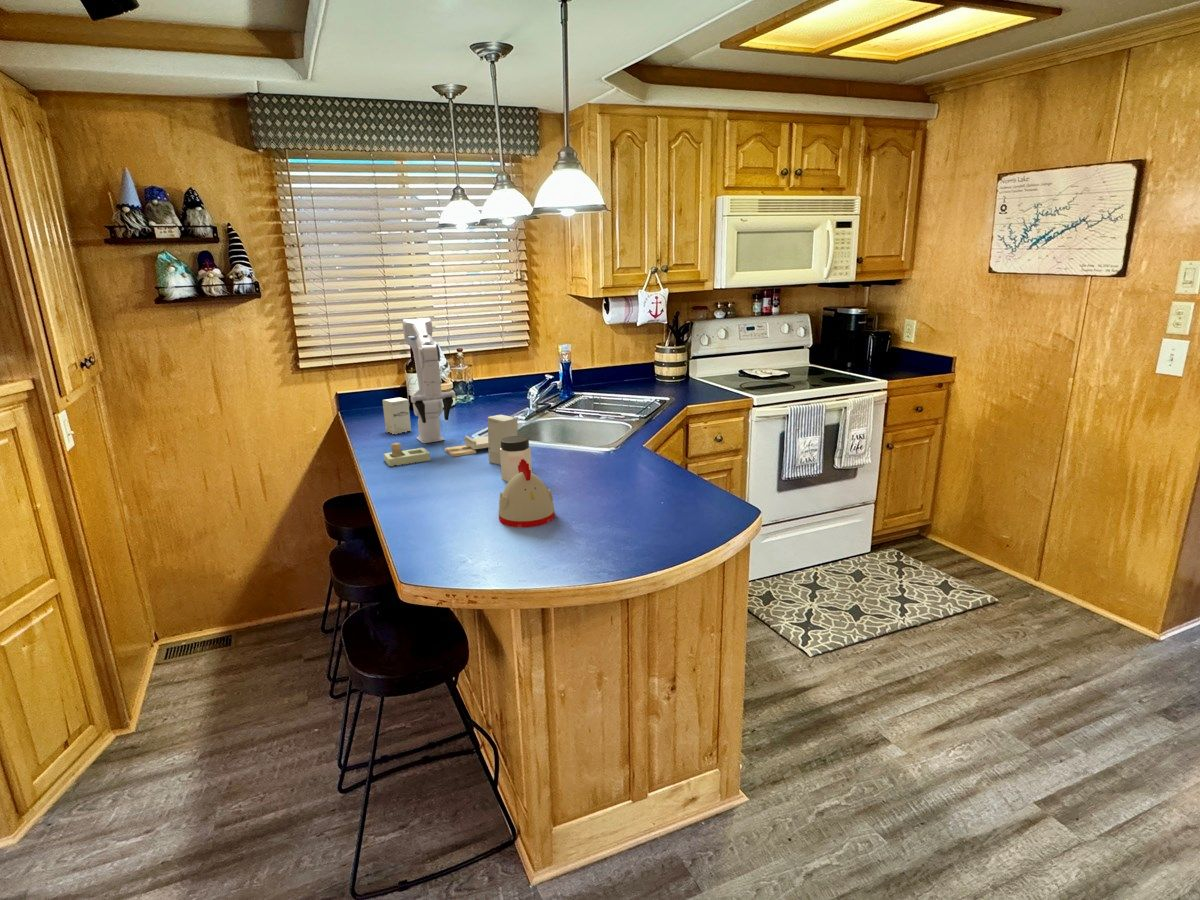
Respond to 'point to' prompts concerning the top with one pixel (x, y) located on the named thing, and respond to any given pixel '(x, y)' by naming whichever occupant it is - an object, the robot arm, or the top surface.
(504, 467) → the jar
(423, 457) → the socket board
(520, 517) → the kitchen timer
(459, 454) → the board
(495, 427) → the skincare box
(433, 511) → the top surface
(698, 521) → the top surface
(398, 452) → the peg
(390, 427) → the supplement box
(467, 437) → the lid
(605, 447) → the top surface
